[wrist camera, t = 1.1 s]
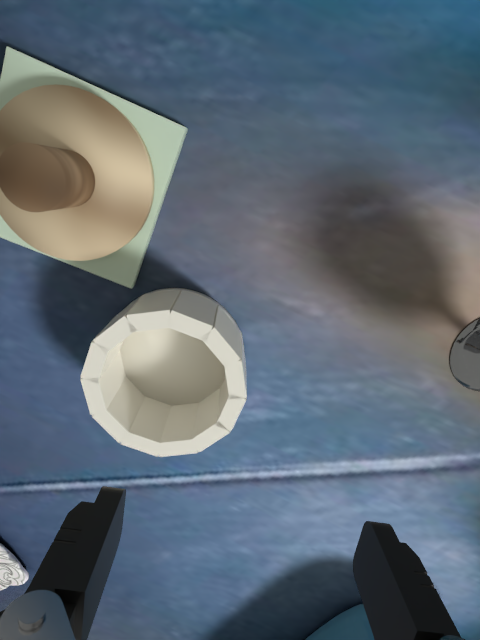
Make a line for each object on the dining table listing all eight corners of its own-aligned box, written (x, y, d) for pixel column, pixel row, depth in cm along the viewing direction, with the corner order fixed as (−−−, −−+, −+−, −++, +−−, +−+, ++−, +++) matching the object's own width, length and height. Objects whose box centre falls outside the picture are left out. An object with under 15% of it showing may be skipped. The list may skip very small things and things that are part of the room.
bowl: (134, 266, 30) (109, 285, 25) (265, 318, 32) (270, 348, 26) (94, 384, 34) (64, 425, 28) (215, 427, 35) (210, 474, 29)
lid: (13, 58, 25) (-57, 21, 19) (176, 132, 27) (158, 118, 21) (-20, 222, 29) (-87, 232, 23) (127, 280, 30) (99, 304, 24)
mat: (13, 50, 26) (6, 45, 25) (187, 129, 27) (186, 127, 26) (-21, 225, 29) (-28, 226, 29) (134, 286, 31) (131, 288, 30)
